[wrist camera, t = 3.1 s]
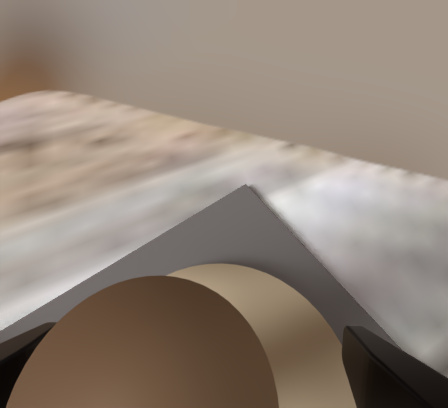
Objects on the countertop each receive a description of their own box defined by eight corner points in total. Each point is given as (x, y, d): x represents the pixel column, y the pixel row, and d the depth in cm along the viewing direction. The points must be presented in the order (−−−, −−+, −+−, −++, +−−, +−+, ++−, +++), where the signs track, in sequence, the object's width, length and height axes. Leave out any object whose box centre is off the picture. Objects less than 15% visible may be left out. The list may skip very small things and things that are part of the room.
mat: (513, 474, 12) (521, 476, 11) (138, 990, 7) (133, 1019, 7) (245, 187, 19) (245, 183, 19) (-10, 342, 15) (-17, 341, 15)
